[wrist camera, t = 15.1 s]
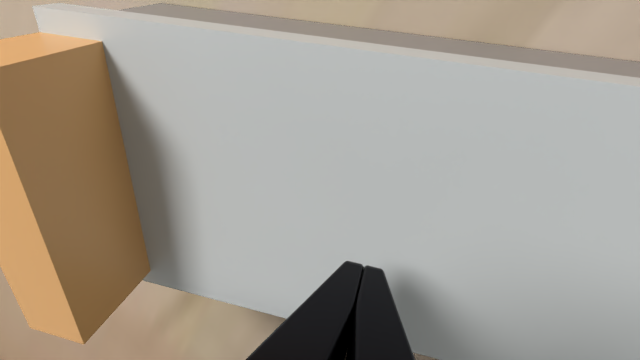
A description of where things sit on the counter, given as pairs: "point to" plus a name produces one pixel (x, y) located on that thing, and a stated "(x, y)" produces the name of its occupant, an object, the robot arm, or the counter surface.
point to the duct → (398, 39)
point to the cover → (319, 181)
